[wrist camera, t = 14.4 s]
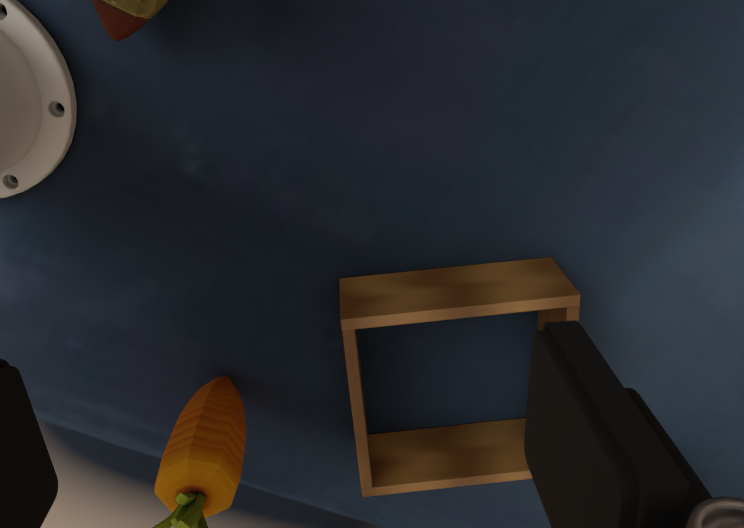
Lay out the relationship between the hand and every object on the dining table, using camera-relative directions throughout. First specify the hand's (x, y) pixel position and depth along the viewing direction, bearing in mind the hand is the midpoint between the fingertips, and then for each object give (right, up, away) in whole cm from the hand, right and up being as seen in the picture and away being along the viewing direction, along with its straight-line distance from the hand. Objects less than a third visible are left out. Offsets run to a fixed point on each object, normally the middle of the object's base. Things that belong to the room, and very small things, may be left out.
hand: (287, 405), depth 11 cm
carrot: (-9, -6, +34) cm, 36 cm away
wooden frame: (+7, -4, +34) cm, 35 cm away
